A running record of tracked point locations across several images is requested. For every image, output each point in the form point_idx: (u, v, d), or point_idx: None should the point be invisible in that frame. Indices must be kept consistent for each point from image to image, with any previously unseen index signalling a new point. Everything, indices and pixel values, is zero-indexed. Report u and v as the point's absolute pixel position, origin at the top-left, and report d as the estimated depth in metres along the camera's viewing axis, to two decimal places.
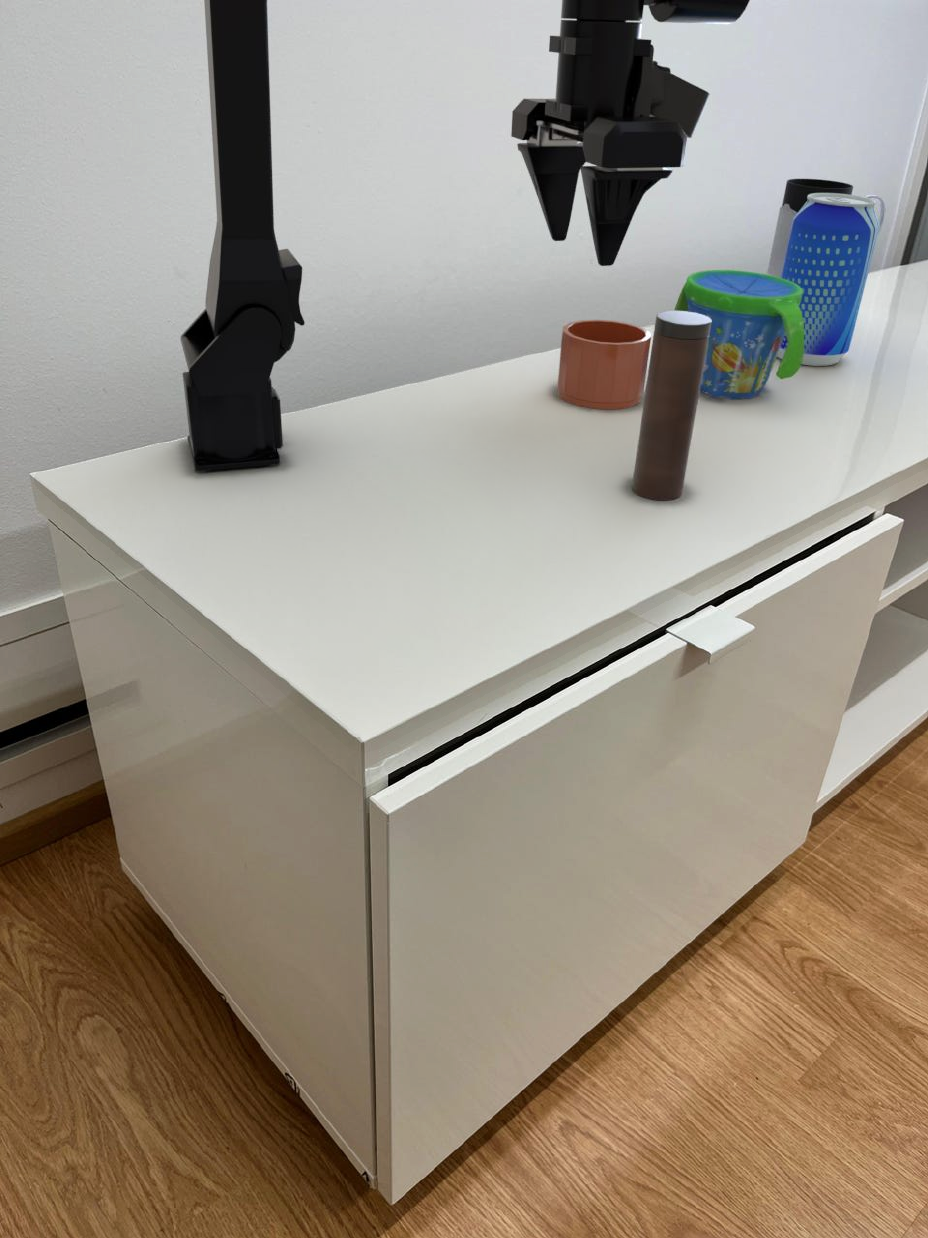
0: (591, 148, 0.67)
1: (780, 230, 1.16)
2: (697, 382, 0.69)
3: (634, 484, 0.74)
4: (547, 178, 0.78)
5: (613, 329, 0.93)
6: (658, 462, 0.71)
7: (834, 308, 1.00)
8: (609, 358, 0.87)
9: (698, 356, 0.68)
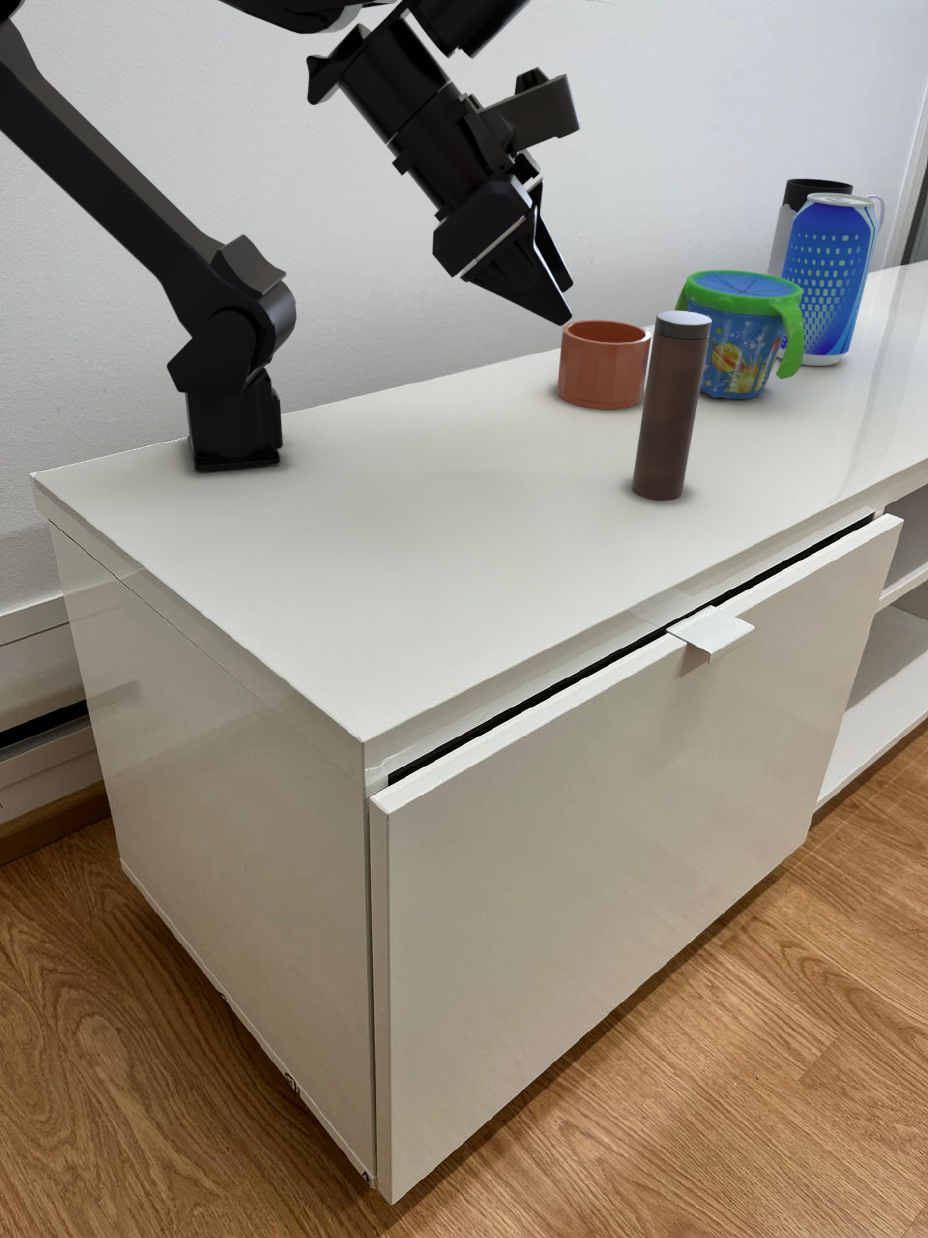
0: None
1: (780, 230, 1.16)
2: (697, 382, 0.69)
3: (634, 484, 0.74)
4: None
5: (613, 329, 0.93)
6: (658, 462, 0.71)
7: (834, 308, 1.00)
8: (609, 358, 0.87)
9: (698, 356, 0.68)
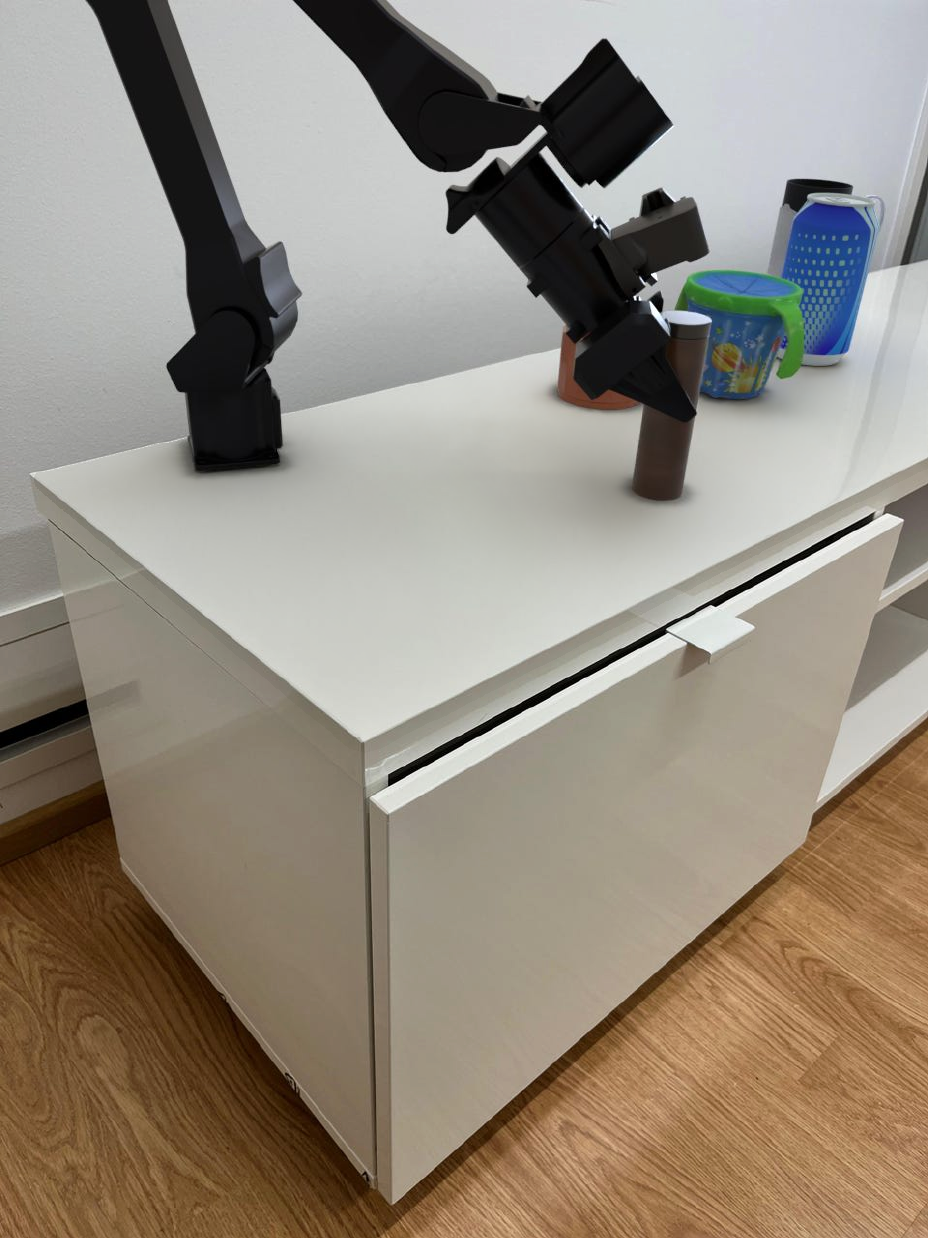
0: None
1: (780, 230, 1.16)
2: (697, 382, 0.69)
3: (634, 483, 0.74)
4: None
5: None
6: (658, 462, 0.71)
7: (834, 308, 1.00)
8: None
9: (698, 356, 0.68)
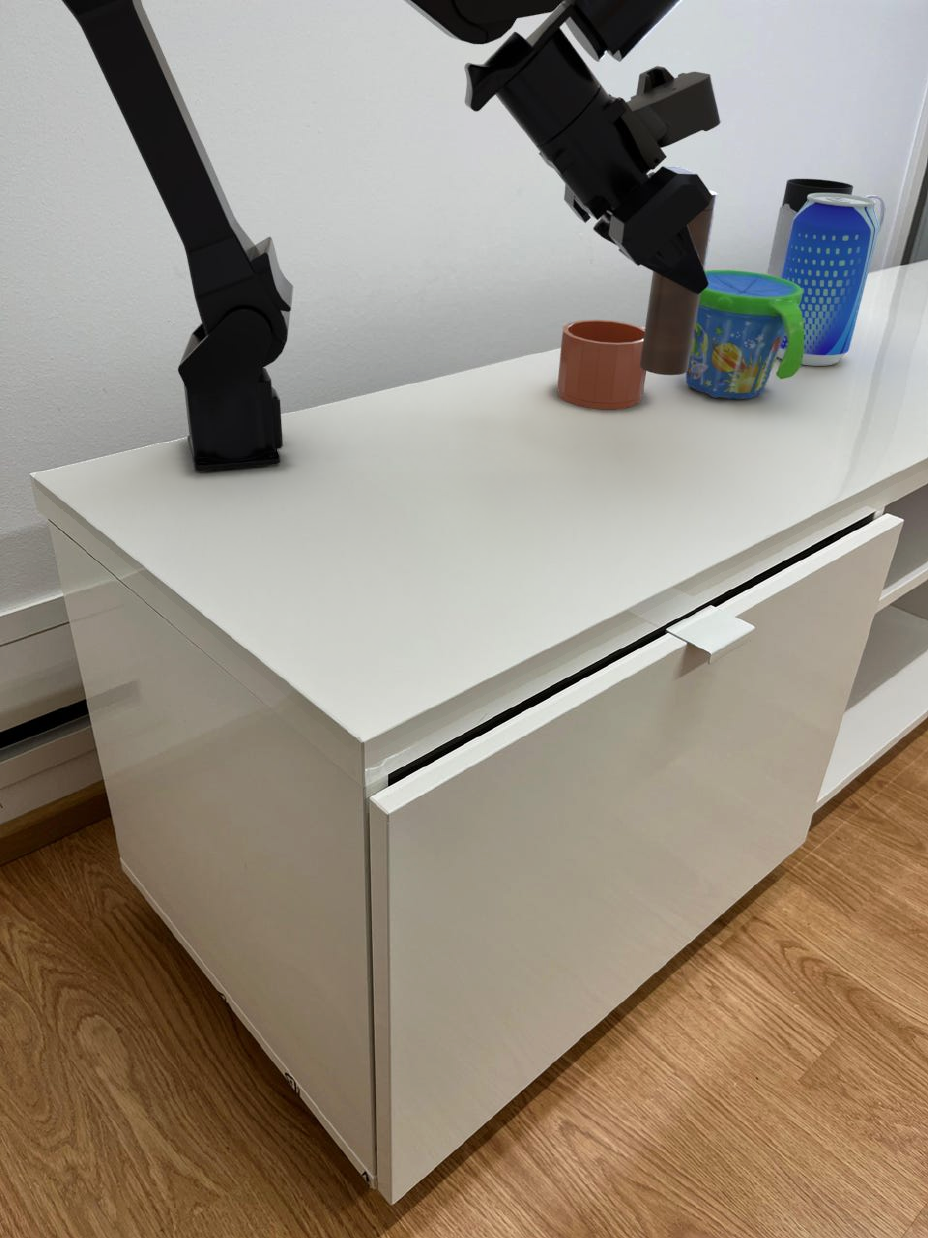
0: (622, 249, 0.66)
1: (780, 230, 1.16)
2: (706, 254, 0.72)
3: (645, 362, 0.77)
4: None
5: (613, 329, 0.93)
6: (672, 336, 0.75)
7: (834, 308, 1.00)
8: (609, 358, 0.87)
9: (708, 227, 0.71)
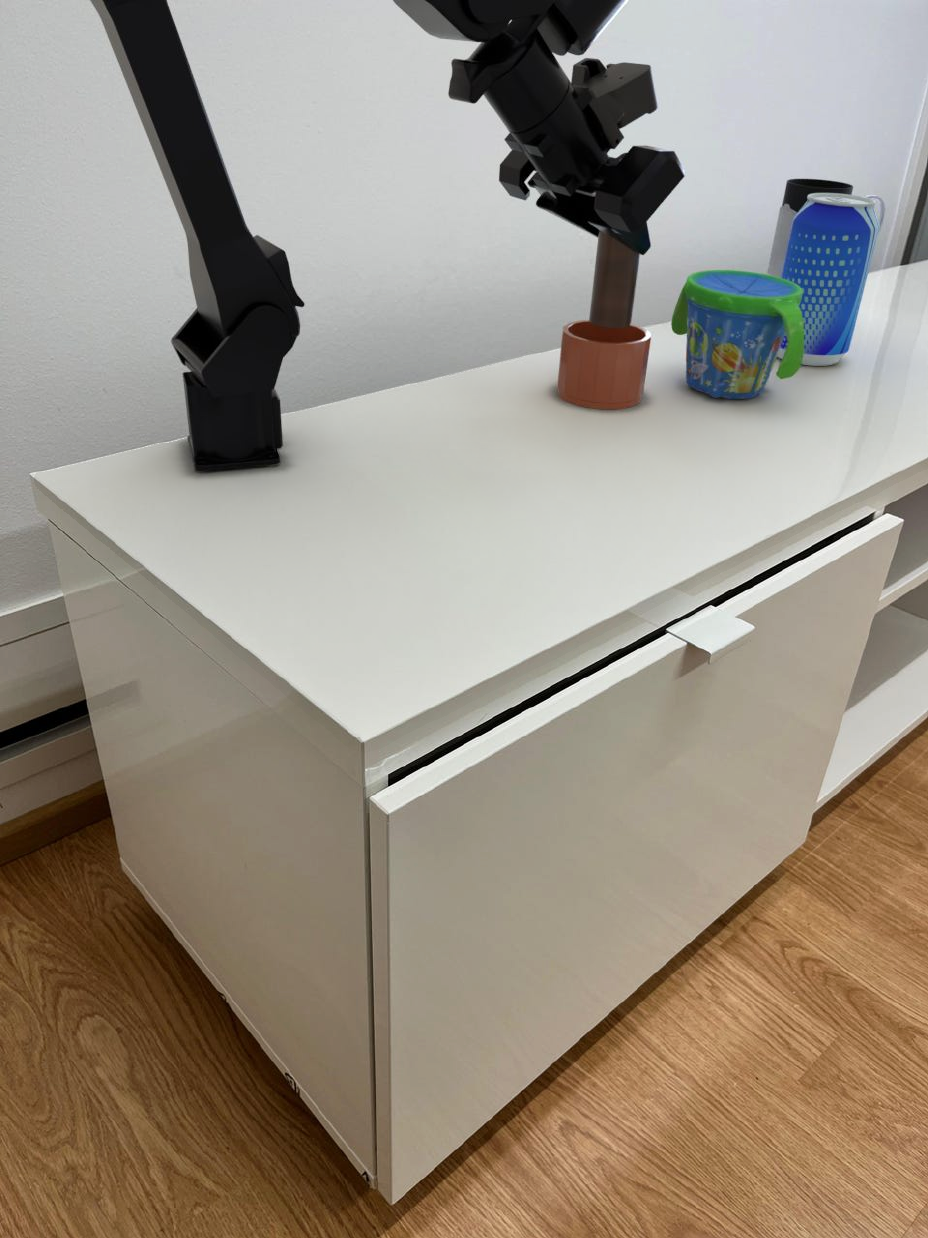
0: (611, 219, 0.75)
1: (780, 230, 1.16)
2: None
3: (599, 319, 0.87)
4: (580, 214, 0.84)
5: (613, 329, 0.93)
6: (623, 294, 0.86)
7: (834, 308, 1.00)
8: (609, 358, 0.87)
9: None
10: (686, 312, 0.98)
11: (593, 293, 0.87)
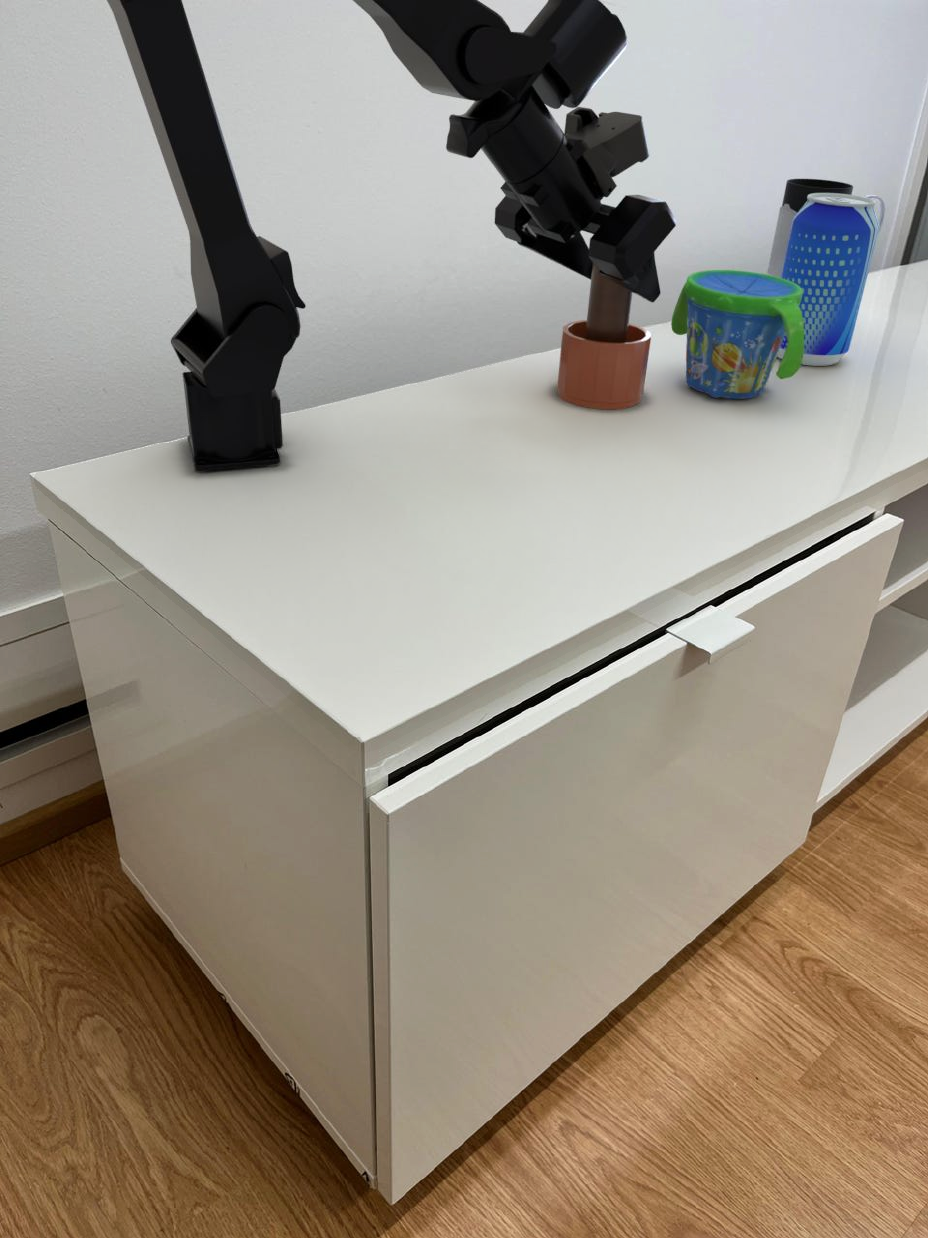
0: (604, 267, 0.78)
1: (780, 230, 1.16)
2: None
3: None
4: (559, 251, 0.88)
5: None
6: None
7: (834, 308, 1.00)
8: (609, 358, 0.87)
9: None
10: (686, 312, 0.98)
11: None
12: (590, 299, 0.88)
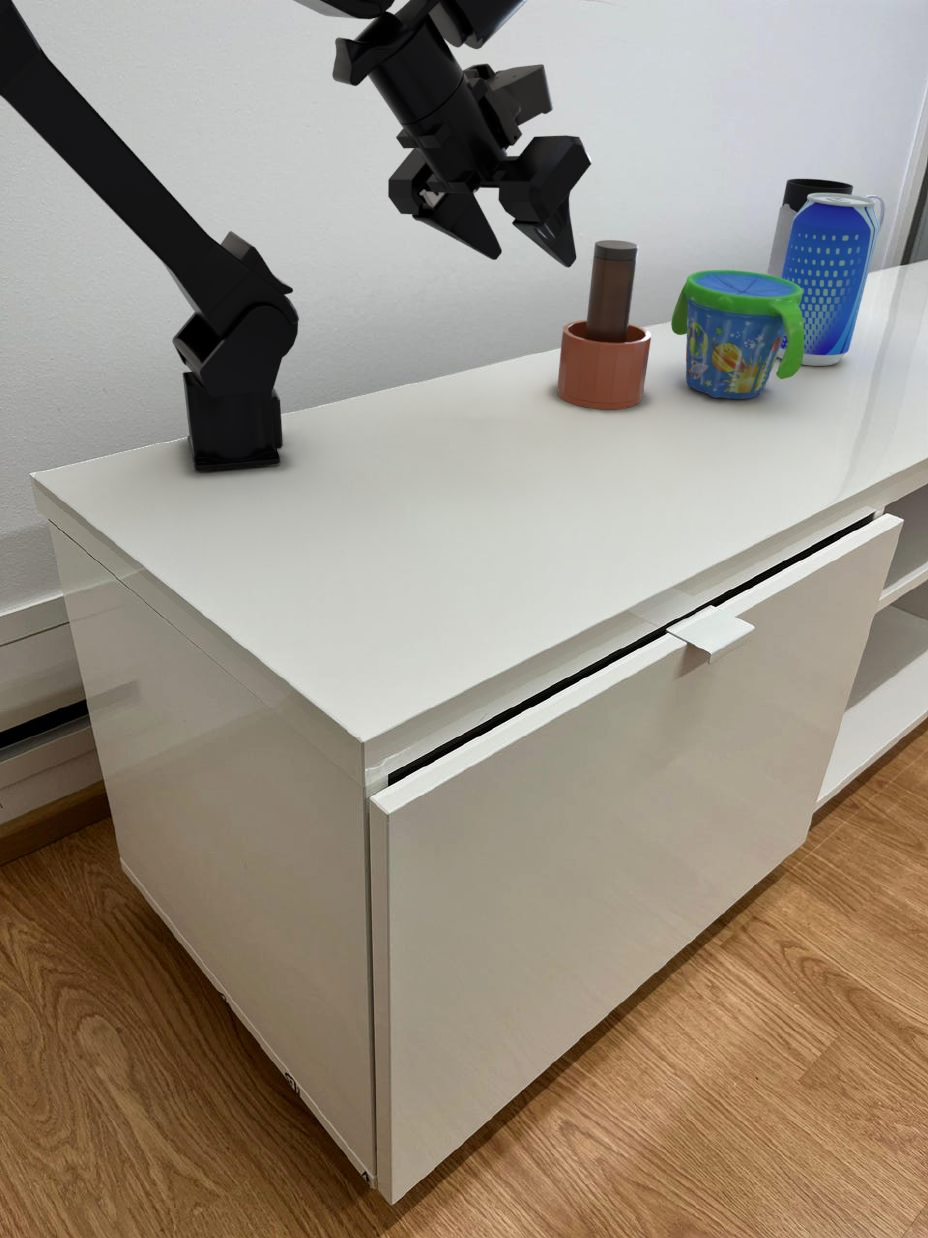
0: (517, 210, 0.70)
1: (780, 230, 1.16)
2: None
3: None
4: (458, 224, 0.81)
5: None
6: None
7: (834, 308, 1.00)
8: (609, 358, 0.87)
9: (634, 273, 0.86)
10: (686, 312, 0.98)
11: None
12: (590, 299, 0.88)
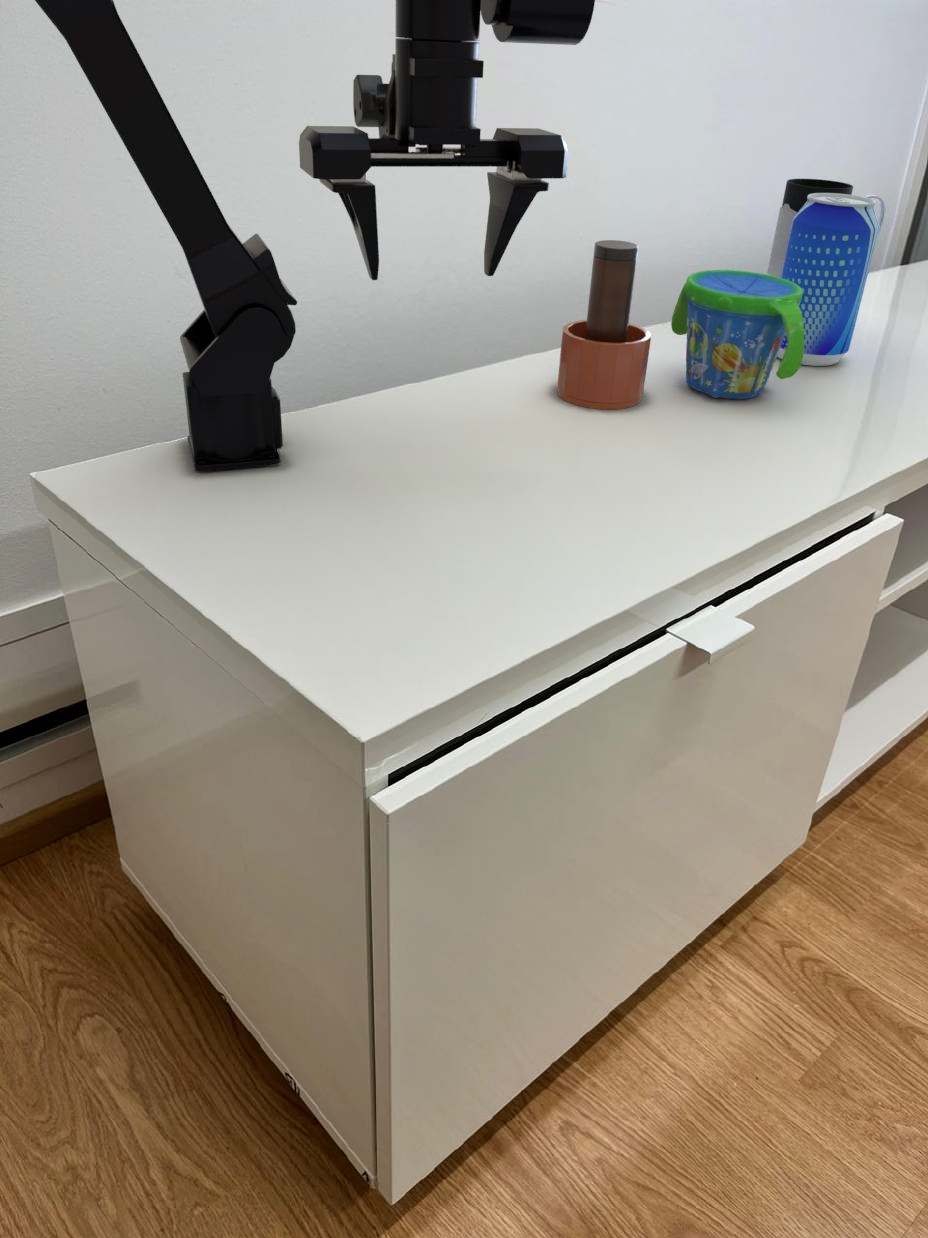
0: (539, 164, 0.70)
1: (780, 230, 1.16)
2: None
3: None
4: None
5: None
6: None
7: (834, 308, 1.00)
8: (609, 358, 0.87)
9: (634, 273, 0.86)
10: (686, 312, 0.98)
11: None
12: (590, 299, 0.88)
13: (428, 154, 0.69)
